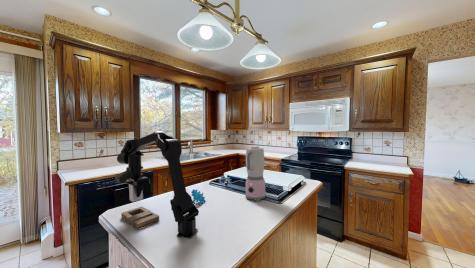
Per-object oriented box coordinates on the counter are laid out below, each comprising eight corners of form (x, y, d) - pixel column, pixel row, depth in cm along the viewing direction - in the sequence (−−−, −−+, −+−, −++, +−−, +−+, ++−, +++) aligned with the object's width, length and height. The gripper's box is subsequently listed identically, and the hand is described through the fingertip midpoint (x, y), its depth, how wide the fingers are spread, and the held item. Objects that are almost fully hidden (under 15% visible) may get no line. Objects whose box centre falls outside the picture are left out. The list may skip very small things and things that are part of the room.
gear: (200, 204, 106) (189, 190, 109) (193, 211, 107) (183, 196, 110) (209, 199, 117) (199, 187, 120) (202, 206, 118) (193, 193, 121)
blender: (251, 193, 127) (250, 145, 126) (268, 196, 121) (268, 146, 120) (239, 201, 114) (238, 147, 113) (257, 205, 107) (257, 148, 107)
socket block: (159, 220, 91) (159, 215, 91) (137, 229, 83) (137, 224, 83) (142, 211, 102) (142, 206, 102) (121, 217, 95) (121, 212, 95)
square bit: (142, 199, 95) (142, 183, 95) (133, 202, 92) (132, 185, 92) (139, 197, 98) (138, 182, 98) (129, 200, 95) (129, 184, 95)
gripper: (109, 165, 94) (110, 196, 95) (124, 170, 82) (125, 205, 83) (133, 162, 103) (134, 190, 103) (150, 165, 91) (151, 198, 91)
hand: (136, 196), depth 95 cm, fingers closed on square bit, 4 cm apart
